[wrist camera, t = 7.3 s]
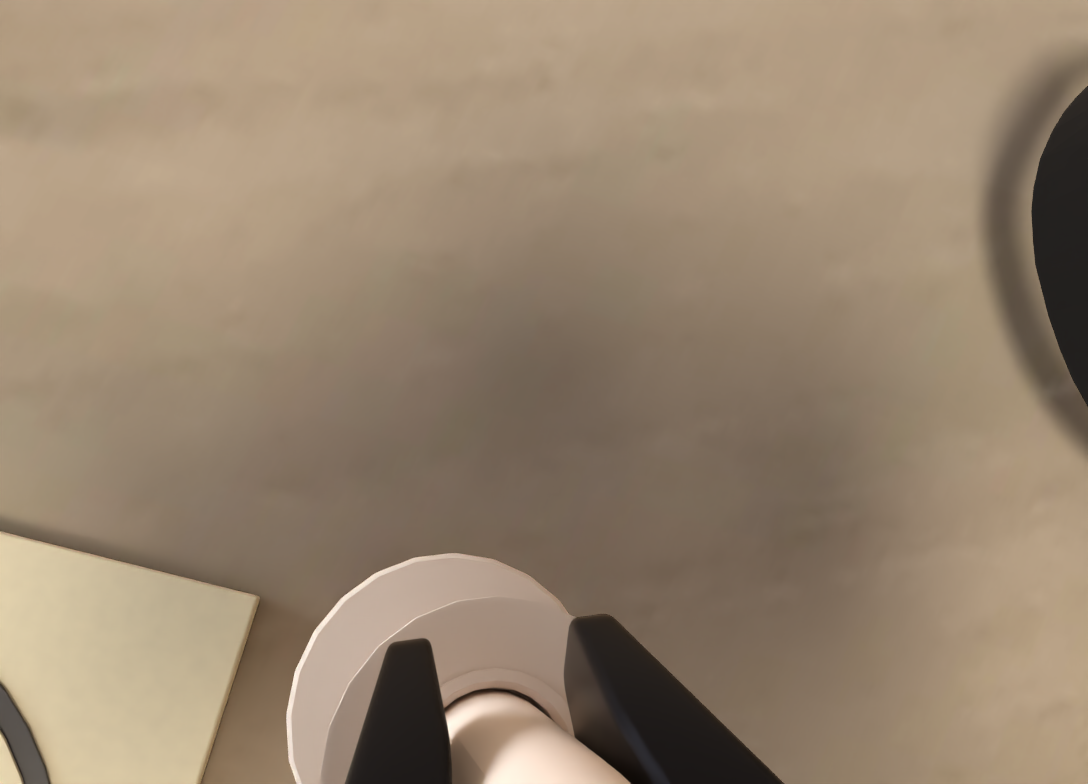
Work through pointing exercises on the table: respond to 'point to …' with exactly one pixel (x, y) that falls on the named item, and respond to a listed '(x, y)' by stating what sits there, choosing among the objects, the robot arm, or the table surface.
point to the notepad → (111, 667)
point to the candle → (447, 673)
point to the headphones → (1065, 235)
